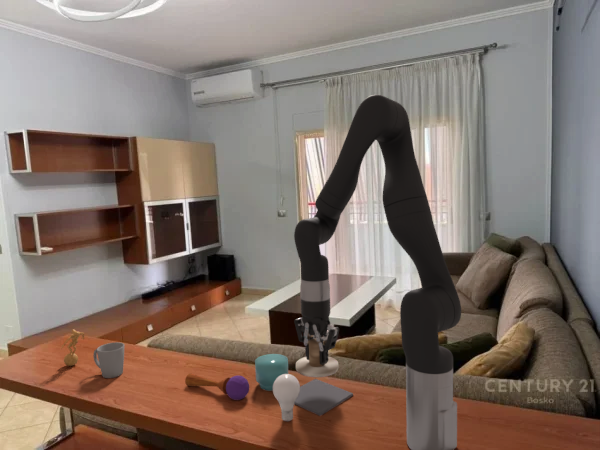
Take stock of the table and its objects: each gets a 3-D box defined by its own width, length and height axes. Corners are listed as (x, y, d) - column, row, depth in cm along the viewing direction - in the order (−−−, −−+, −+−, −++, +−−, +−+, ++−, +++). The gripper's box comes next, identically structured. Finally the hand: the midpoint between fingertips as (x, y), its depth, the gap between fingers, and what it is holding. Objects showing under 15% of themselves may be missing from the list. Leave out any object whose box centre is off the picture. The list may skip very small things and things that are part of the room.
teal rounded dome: (295, 383, 117) (294, 359, 116) (271, 396, 111) (270, 370, 110) (273, 374, 123) (272, 351, 123) (249, 385, 117) (248, 361, 116)
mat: (353, 395, 110) (352, 393, 110) (320, 416, 100) (320, 413, 100) (315, 380, 119) (315, 378, 118) (282, 398, 109) (282, 396, 109)
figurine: (77, 359, 139) (74, 324, 138) (91, 361, 137) (88, 325, 136) (55, 370, 131) (52, 332, 130) (70, 372, 129) (66, 334, 128)
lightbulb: (286, 410, 103) (284, 366, 102) (306, 418, 99) (305, 373, 98) (268, 422, 98) (266, 376, 97) (288, 431, 94) (287, 383, 93)
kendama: (197, 366, 121) (253, 374, 112) (196, 388, 121) (253, 398, 111) (182, 370, 116) (239, 379, 106) (181, 393, 116) (239, 404, 106)
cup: (114, 381, 122) (112, 352, 121) (86, 377, 125) (84, 349, 124) (131, 370, 129) (130, 343, 129) (104, 367, 132) (102, 340, 131)
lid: (347, 366, 109) (346, 340, 108) (319, 381, 101) (318, 353, 100) (315, 355, 117) (314, 330, 116) (286, 368, 109) (286, 342, 108)
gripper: (346, 297, 105) (347, 364, 107) (305, 289, 115) (306, 350, 116) (327, 304, 99) (328, 374, 101) (285, 294, 109) (287, 358, 111)
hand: (316, 361), depth 109 cm, fingers closed on lid, 4 cm apart
